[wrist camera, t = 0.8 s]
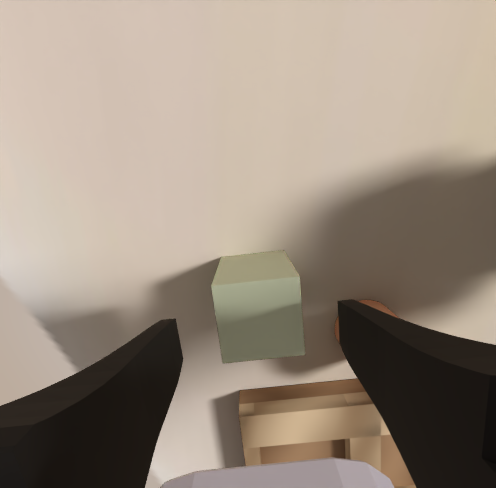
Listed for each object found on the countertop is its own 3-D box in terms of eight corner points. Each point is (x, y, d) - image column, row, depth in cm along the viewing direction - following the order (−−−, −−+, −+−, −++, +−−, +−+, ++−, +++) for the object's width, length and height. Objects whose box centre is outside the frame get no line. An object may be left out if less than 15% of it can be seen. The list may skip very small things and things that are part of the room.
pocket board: (463, 368, 18) (492, 392, 16) (454, 487, 21) (478, 522, 18) (239, 390, 18) (238, 417, 16) (255, 505, 21) (256, 542, 19)
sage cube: (283, 249, 16) (299, 276, 11) (288, 307, 17) (305, 355, 12) (221, 256, 16) (211, 286, 12) (229, 313, 17) (222, 363, 12)
